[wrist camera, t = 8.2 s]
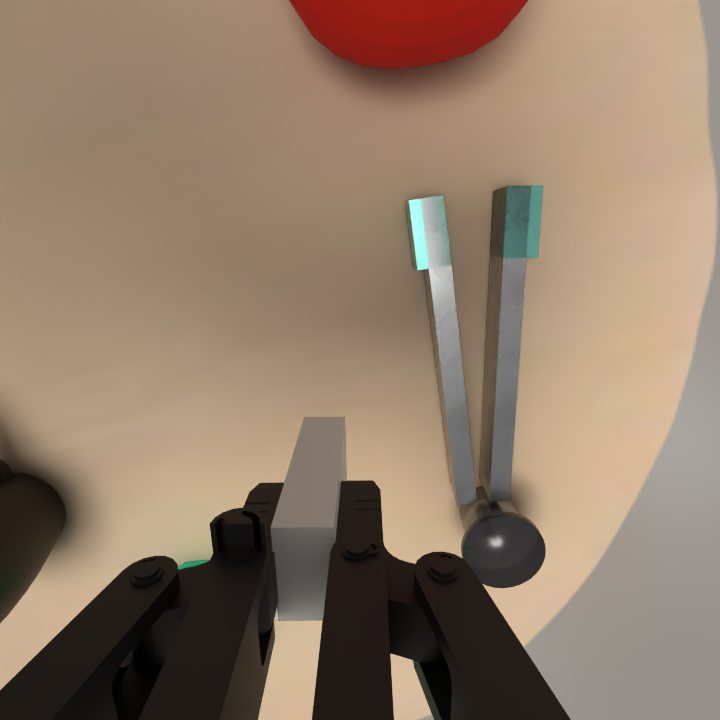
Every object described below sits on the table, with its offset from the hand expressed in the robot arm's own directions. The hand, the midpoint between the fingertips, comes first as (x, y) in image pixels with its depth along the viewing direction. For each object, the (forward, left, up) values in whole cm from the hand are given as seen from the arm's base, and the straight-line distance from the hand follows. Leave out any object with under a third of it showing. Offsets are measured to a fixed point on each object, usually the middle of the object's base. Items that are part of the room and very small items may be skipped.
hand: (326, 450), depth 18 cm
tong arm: (-1, +6, -13) cm, 14 cm away
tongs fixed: (+2, +9, -13) cm, 16 cm away
